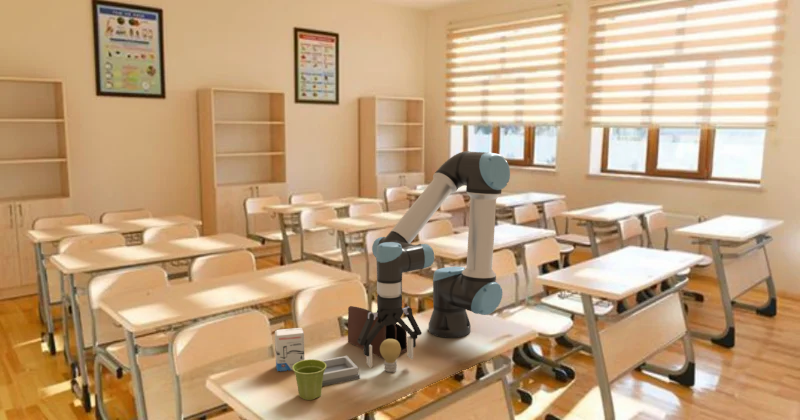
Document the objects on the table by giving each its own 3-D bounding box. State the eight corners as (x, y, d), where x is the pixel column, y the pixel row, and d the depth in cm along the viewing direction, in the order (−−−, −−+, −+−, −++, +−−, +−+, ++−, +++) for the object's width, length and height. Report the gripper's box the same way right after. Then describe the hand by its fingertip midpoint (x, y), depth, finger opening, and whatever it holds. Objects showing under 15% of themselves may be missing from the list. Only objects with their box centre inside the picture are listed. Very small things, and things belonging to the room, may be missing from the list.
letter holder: (384, 360, 193) (383, 317, 190) (347, 342, 207) (346, 303, 205) (407, 351, 199) (407, 310, 197) (370, 335, 214) (369, 297, 212)
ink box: (277, 372, 184) (275, 335, 182) (275, 365, 189) (274, 329, 187) (305, 368, 186) (303, 332, 184) (303, 362, 191) (302, 327, 189)
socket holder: (346, 363, 190) (345, 354, 189) (359, 378, 179) (359, 368, 179) (305, 371, 184) (305, 361, 184) (317, 387, 174) (317, 377, 173)
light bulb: (398, 375, 181) (398, 344, 179) (378, 374, 182) (377, 342, 180) (402, 367, 187) (402, 336, 185) (382, 365, 188) (382, 335, 186)
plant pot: (328, 387, 174) (327, 358, 172) (325, 402, 164) (324, 372, 163) (296, 388, 173) (294, 359, 172) (291, 403, 164) (290, 373, 163)
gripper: (421, 285, 189) (421, 350, 192) (346, 296, 179) (347, 364, 182) (432, 292, 182) (432, 358, 185) (354, 303, 172) (356, 373, 175)
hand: (390, 361), depth 184 cm, fingers open, 13 cm apart
